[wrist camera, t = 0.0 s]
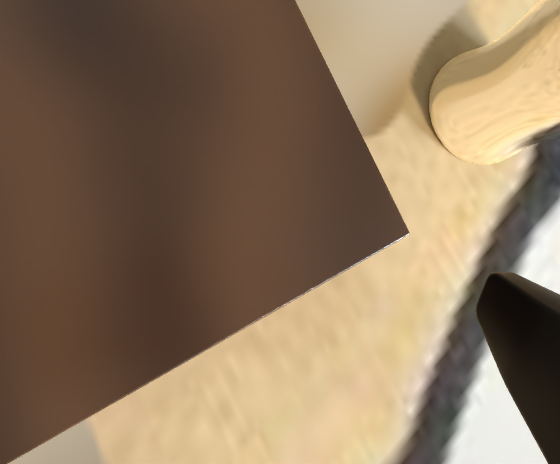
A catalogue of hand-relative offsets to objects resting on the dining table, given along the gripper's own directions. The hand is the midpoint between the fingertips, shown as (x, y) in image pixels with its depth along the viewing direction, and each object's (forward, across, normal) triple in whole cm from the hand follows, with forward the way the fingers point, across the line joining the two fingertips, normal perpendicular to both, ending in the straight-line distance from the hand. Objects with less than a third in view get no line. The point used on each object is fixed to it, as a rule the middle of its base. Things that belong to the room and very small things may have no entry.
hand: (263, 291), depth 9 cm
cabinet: (+14, +3, +5) cm, 16 cm away
